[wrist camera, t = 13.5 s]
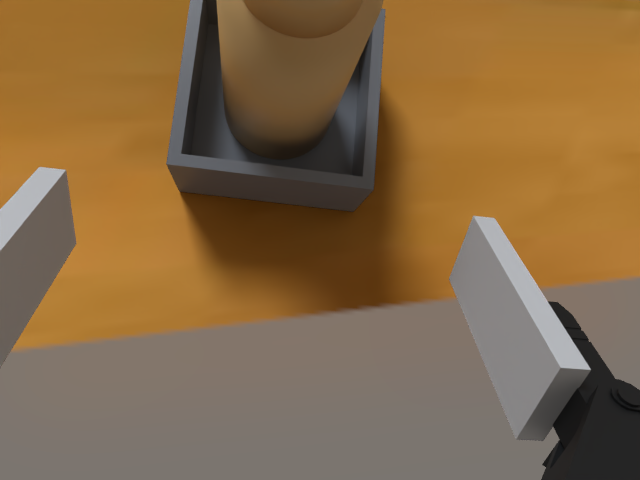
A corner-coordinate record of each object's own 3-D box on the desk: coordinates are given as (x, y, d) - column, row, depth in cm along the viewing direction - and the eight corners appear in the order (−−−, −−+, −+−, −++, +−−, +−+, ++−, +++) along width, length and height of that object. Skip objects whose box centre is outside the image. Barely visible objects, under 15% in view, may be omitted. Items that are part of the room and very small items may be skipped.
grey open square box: (179, 191, 24) (166, 164, 20) (201, 30, 25) (193, -24, 21) (353, 211, 25) (373, 189, 21) (364, 56, 26) (385, 9, 22)
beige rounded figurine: (218, 152, 23) (197, -17, 11) (230, 51, 24) (221, -198, 12) (327, 165, 23) (407, 18, 12) (334, 67, 24) (416, -155, 13)
